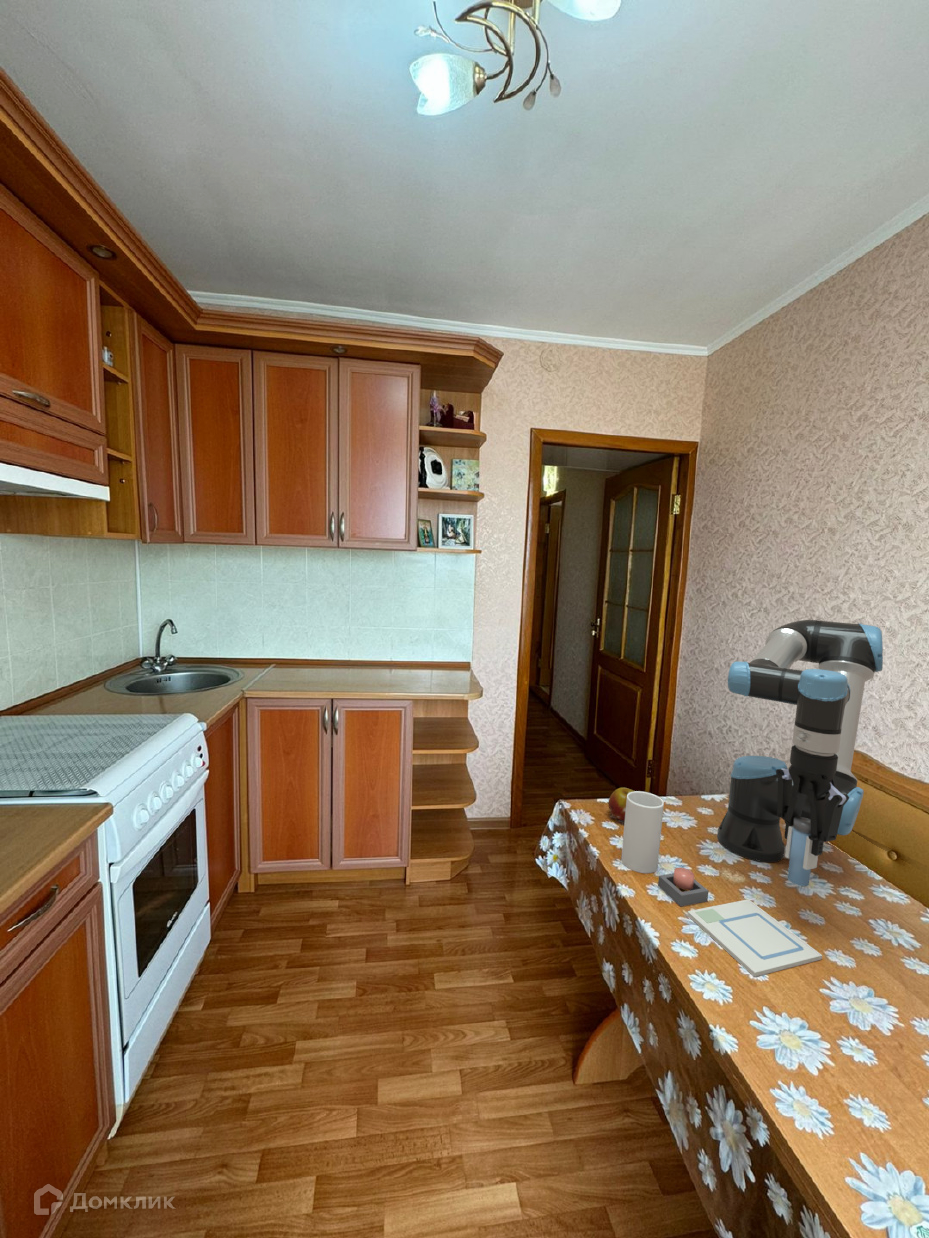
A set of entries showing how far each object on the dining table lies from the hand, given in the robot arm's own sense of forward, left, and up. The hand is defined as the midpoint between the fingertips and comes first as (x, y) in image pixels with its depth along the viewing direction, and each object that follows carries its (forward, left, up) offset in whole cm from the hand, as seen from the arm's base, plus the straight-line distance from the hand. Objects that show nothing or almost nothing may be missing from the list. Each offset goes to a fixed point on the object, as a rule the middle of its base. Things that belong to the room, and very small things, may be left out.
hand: (800, 861), depth 100 cm
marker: (0, 0, -4) cm, 4 cm away
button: (+16, -13, -11) cm, 23 cm away
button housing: (+16, -13, -13) cm, 24 cm away
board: (+12, +1, -13) cm, 18 cm away
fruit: (+8, -45, -13) cm, 47 cm away
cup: (+18, -25, -13) cm, 33 cm away
